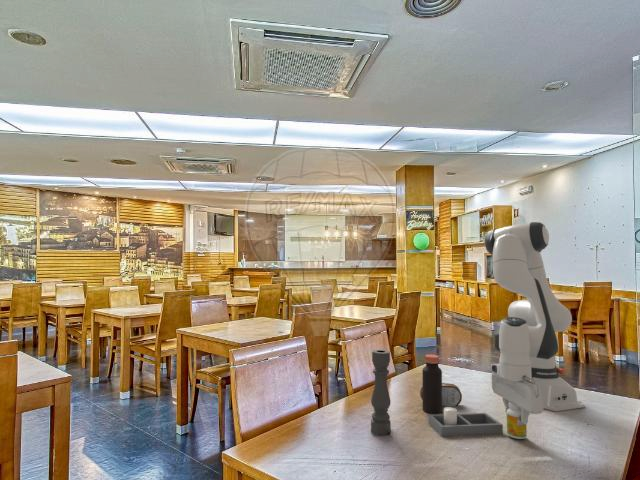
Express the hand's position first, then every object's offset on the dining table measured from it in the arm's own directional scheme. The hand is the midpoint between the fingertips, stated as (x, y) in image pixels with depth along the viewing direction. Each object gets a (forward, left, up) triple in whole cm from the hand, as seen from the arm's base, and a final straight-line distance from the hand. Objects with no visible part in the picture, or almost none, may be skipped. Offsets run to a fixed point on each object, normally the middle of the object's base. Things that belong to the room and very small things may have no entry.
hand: (516, 417), depth 123 cm
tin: (+11, -30, -7) cm, 33 cm away
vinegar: (+17, -24, -7) cm, 30 cm away
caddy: (+13, -8, -7) cm, 16 cm away
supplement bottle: (0, 0, -5) cm, 5 cm away
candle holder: (+40, -10, -7) cm, 41 cm away
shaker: (+17, -8, -6) cm, 20 cm away
